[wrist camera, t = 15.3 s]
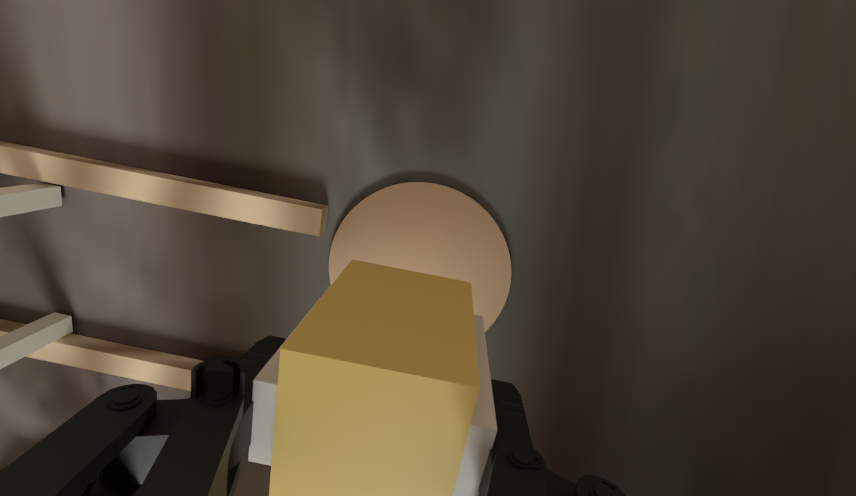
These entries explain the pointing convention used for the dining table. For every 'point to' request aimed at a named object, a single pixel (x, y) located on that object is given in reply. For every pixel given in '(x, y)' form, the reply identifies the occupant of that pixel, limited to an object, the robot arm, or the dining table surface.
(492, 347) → the dining table surface
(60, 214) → the dining table surface
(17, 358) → the cover
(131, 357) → the track
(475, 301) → the mat
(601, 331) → the dining table surface
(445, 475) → the block
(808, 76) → the dining table surface
